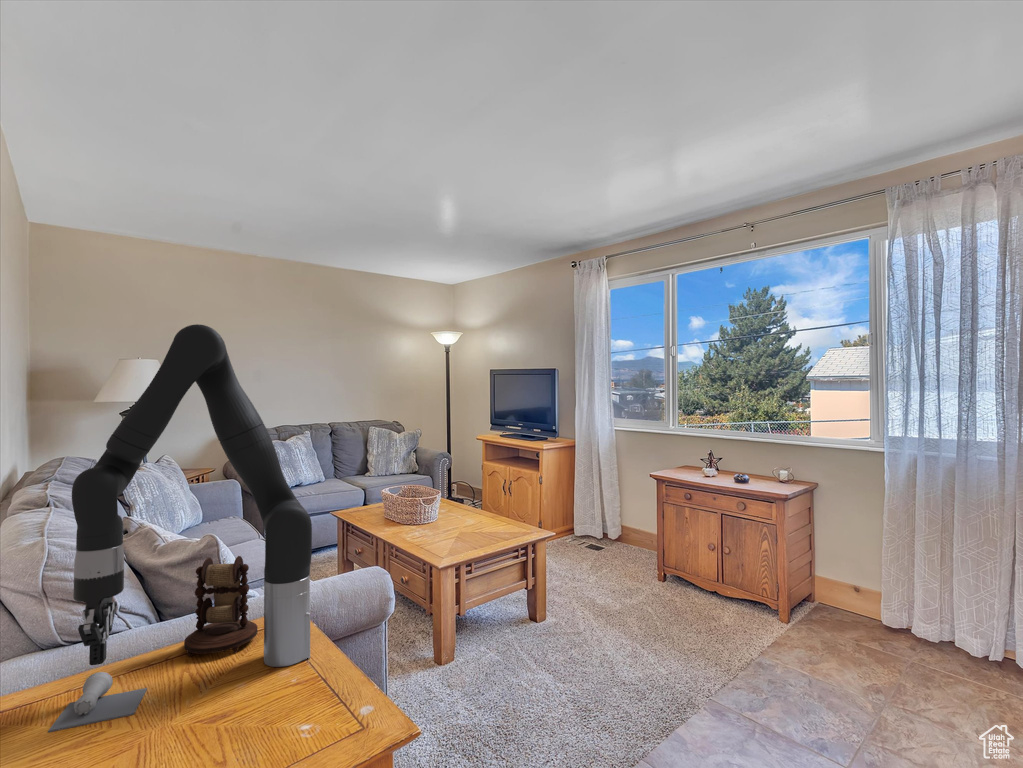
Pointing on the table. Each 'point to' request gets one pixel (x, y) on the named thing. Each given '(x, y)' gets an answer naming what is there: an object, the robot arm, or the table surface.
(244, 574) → the wooden spool holder
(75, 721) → the felt mat
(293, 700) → the table surface
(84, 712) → the rook chess piece
